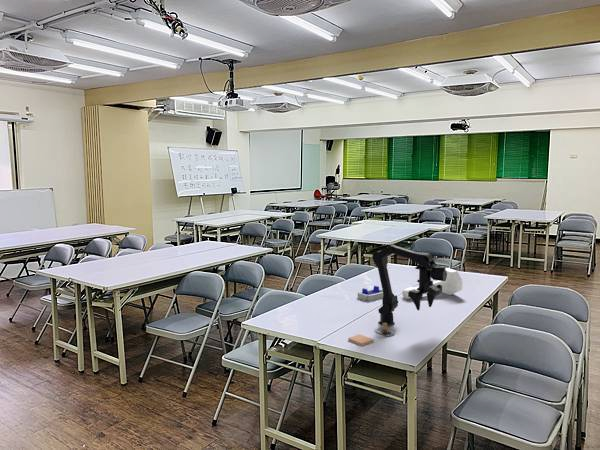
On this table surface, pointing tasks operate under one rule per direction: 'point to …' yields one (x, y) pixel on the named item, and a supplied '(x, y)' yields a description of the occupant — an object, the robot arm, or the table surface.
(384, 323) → the float
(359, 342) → the tile
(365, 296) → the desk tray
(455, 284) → the white mallet
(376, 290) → the cable clip
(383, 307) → the robot arm
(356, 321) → the table surface
